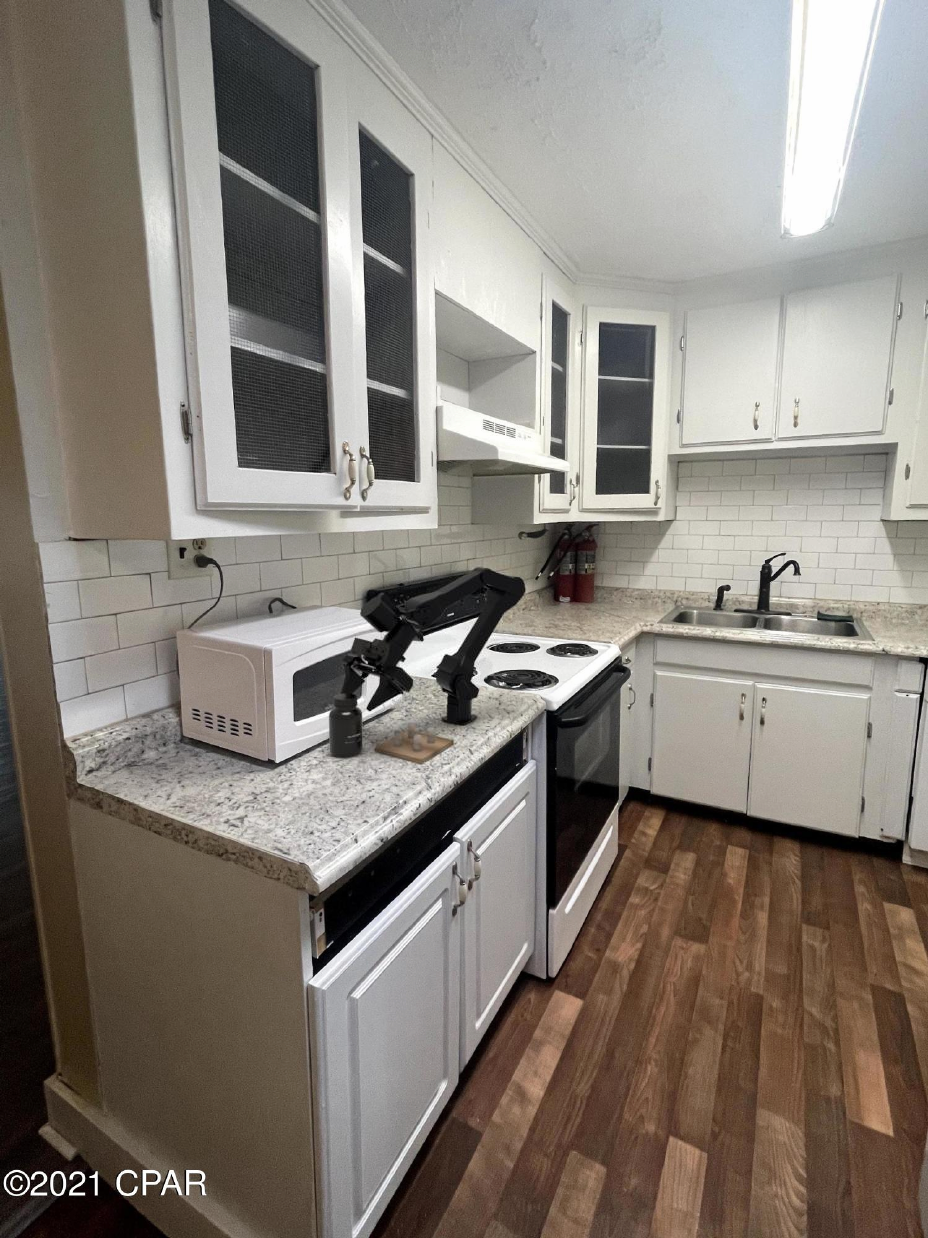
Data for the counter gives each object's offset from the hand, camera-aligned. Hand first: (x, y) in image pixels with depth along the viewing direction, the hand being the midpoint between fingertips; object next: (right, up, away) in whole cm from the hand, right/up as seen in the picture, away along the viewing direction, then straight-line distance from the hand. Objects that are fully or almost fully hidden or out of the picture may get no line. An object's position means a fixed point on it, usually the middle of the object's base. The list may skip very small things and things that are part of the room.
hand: (354, 705), depth 123 cm
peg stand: (+12, -9, +2) cm, 16 cm away
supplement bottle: (-2, -10, 0) cm, 10 cm away
